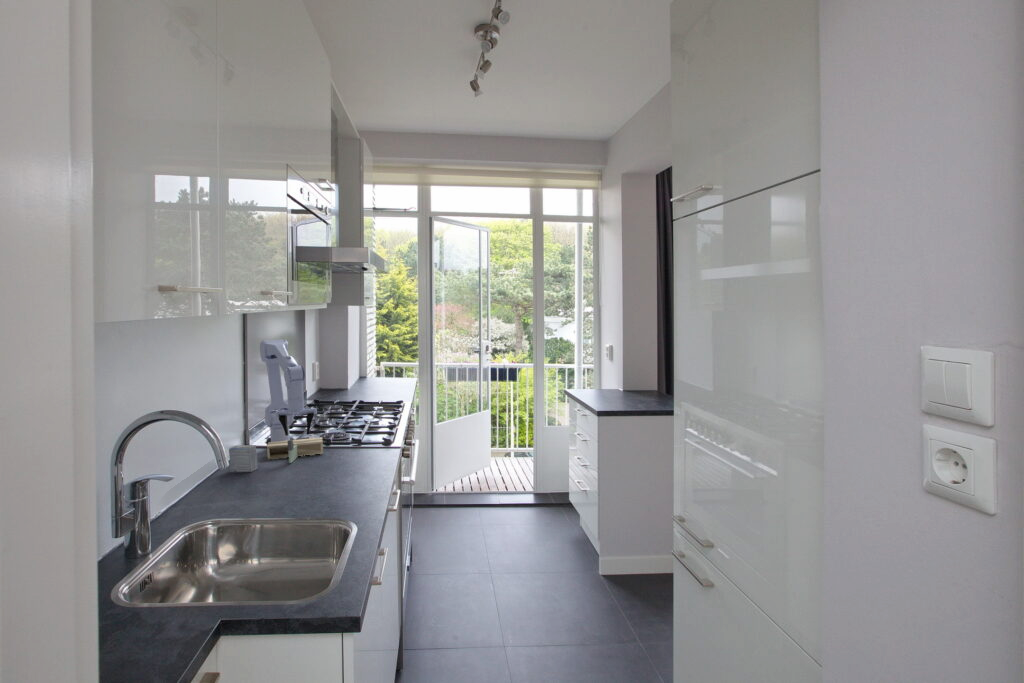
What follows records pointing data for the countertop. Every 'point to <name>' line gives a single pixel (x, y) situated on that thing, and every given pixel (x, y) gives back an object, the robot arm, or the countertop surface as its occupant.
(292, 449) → the side door
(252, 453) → the medicine box
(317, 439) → the tan rectangular box
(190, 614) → the countertop surface
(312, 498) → the countertop surface
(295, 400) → the robot arm
